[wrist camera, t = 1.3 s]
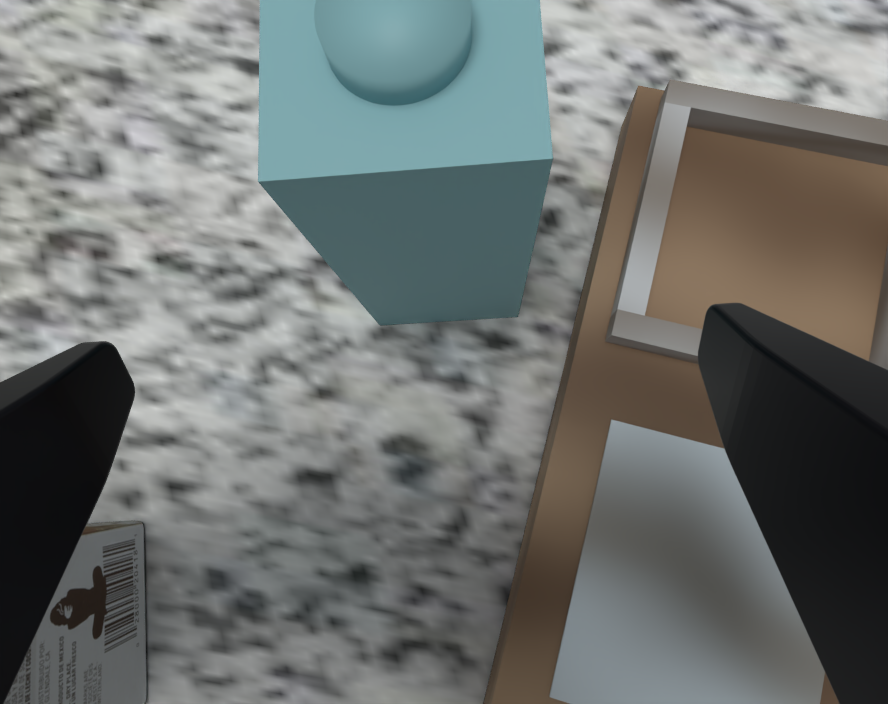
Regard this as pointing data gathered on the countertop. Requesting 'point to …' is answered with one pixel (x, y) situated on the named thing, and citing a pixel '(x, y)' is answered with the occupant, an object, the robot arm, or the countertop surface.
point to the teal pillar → (409, 146)
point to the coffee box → (92, 626)
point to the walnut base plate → (688, 405)
